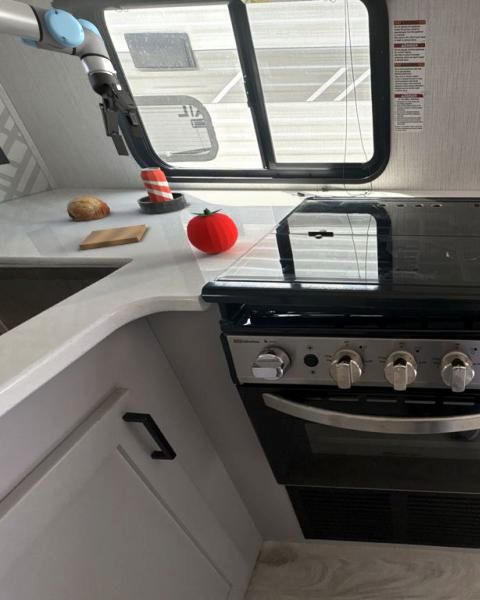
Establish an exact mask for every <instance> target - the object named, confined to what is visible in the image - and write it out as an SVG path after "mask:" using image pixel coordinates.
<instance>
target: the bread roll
mask: <svg viewBox="0 0 480 600" xmlns="http://www.w3.org/2000/svg"><path fill="white" fill-rule="evenodd" d="M66 212H67V214H68V217H69V218H70V220H71V221H75V222H76V221H77V222H78V221H81V222H89V221H94V220H99V219H102V218H105V217H107V216H109V215H110V214H111V208H110V207H109V205H107V203H106V202H104V200H101V199H100V198H98V197H94V196H88V195H83V196H82V195H80V196H75V197H73V198H72V199H71V200H69V202H68V203H67V206H66Z"/></svg>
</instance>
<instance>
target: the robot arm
mask: <svg viewBox="0 0 480 600" xmlns="http://www.w3.org/2000/svg"><path fill="white" fill-rule="evenodd" d="M0 34H3V35H7V36H12V37H16V38H17V39H18V41H19V42H21V44H24V45H25V46H29V47H33V48H35V49H38V50H45V51H50V52H54V53H59V54H65V55H69V56H72V57H73V56H75V57H78V58H79V60H80V62H81V66H82V67H83V70H84V73H85V75H86V77H87V78H88V81H89V84H90V86H91V89H92V91H93V92H94V93H96V94H97V95H99V96H100V97H101V102H99V103H98V106H99V110H100V112H101V117H102V121H103V126H104V130H105V134H106V137H109V138H111V140H112V142H113V145H114V147H115V149H116V152H117V155H118V156H124V157H129V156H130V154H129V151H128V148H127V146H126V143H125V141H124V139H123V135H122V134H120V128H119V127H120V126H119V118H118V116H119V115H120V111H122V114H123V115H124V118H125V120H126V123H127V125H128V128H129V130H130V133H131V135H132V138H134V139H142V140H143V139H145V136H144V132H143V131H142V128H141V125H140V123H139V120H138V118H137V112H136V111H138V106H137V105H136V104H135V102H134V101H133V100H132V99H131V97H130V96H129V95H128V93H127V92H126V90H125V88H124V87H123V86H124V85H123V84H121V82H120V80H119V78H118V75H117V70H115V67H114V66H113V63H112V61H111V58H110V55H109V53H108V50H107V48H106V45H105V42H104V39H103V37H102V35H101V33H100V31H99V30H98V28H97V27H96V26H95V24H93V23H92V22H90V21H88V20H86V19H83V18H76V17H74V16H73V15H72V14H70V13H69V12H67V11H65V10H62V9H59V8H49V9H47V8H44V7H39V6H35V5H31V4H27V3H25V2H20V1H17V0H0Z"/></svg>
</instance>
